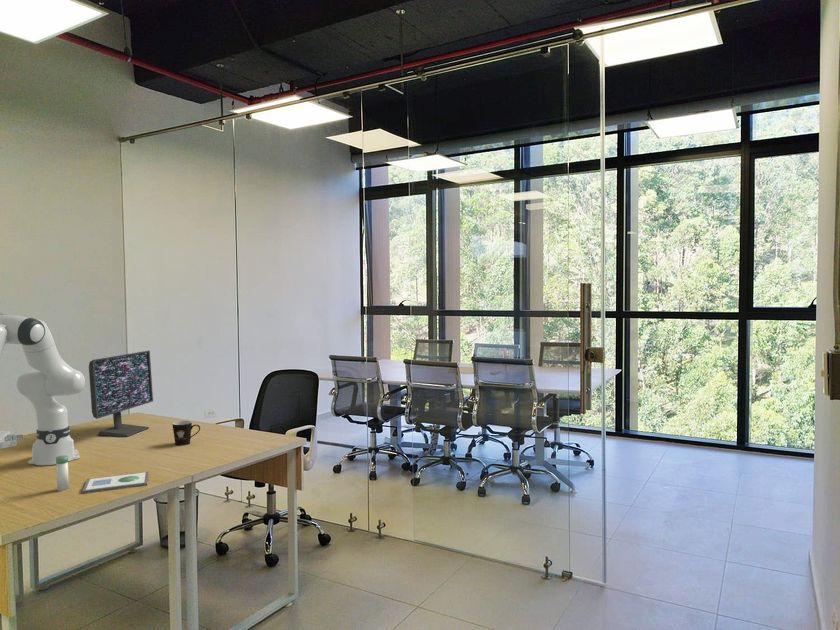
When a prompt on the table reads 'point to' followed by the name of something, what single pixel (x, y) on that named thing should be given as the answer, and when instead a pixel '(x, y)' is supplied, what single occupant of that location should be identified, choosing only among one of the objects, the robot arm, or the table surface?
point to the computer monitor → (120, 389)
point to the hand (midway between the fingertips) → (19, 439)
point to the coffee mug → (183, 432)
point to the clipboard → (115, 482)
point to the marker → (62, 473)
